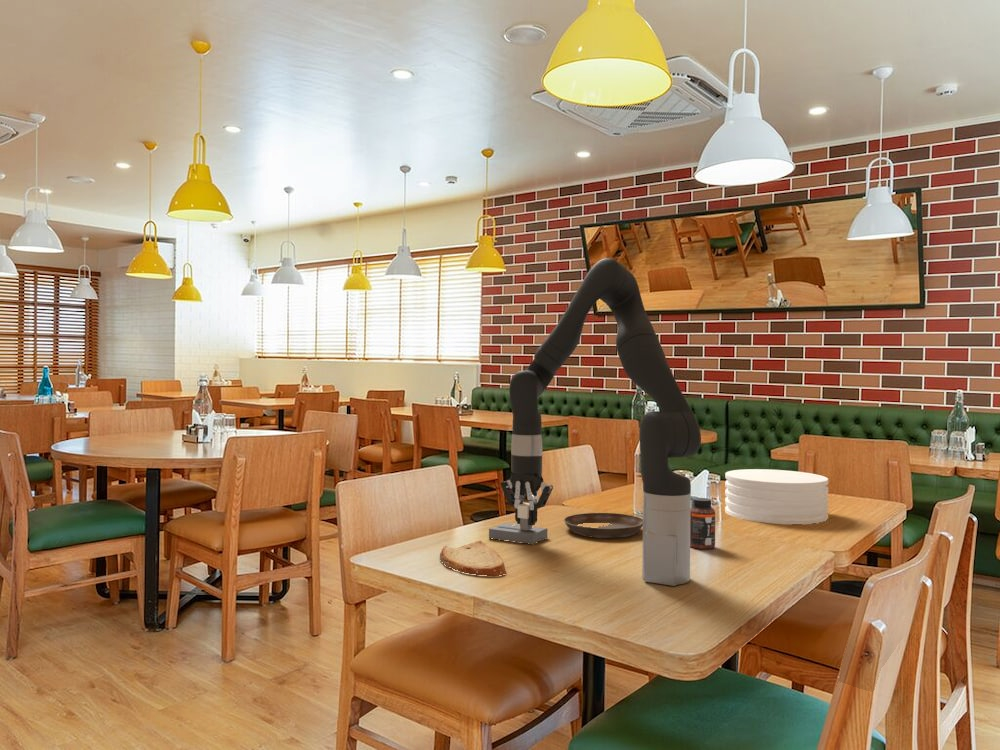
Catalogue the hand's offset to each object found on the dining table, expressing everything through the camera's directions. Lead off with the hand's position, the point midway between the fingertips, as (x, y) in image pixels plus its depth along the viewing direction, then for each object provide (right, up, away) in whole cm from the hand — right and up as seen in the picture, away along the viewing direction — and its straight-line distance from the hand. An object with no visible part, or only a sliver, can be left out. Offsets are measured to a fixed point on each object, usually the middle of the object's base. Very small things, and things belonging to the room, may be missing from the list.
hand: (526, 523), depth 171 cm
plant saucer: (+21, -5, +11) cm, 24 cm away
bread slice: (-12, -5, -20) cm, 24 cm away
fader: (0, -1, 0) cm, 1 cm away
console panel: (-2, -4, +2) cm, 5 cm away
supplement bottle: (+41, -5, -5) cm, 42 cm away
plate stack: (+74, -5, +35) cm, 82 cm away
